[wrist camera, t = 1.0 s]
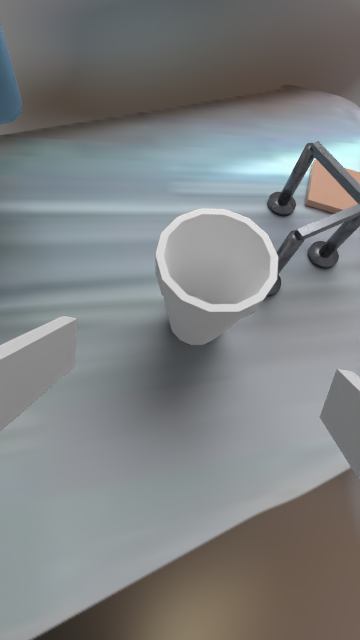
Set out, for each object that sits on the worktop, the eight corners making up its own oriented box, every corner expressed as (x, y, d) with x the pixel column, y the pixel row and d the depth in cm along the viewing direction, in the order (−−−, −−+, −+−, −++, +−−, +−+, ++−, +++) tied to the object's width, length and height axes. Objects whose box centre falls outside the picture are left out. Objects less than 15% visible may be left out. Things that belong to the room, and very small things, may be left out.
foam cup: (165, 278, 35) (170, 198, 23) (237, 293, 35) (280, 220, 23) (148, 350, 31) (144, 298, 19) (229, 366, 31) (274, 324, 19)
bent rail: (246, 290, 35) (276, 242, 26) (270, 192, 42) (300, 127, 33) (330, 316, 35) (390, 276, 26) (340, 212, 41) (391, 152, 33)
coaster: (304, 204, 41) (308, 199, 41) (311, 165, 45) (314, 159, 44) (363, 221, 41) (368, 217, 40) (365, 180, 45) (370, 175, 44)
